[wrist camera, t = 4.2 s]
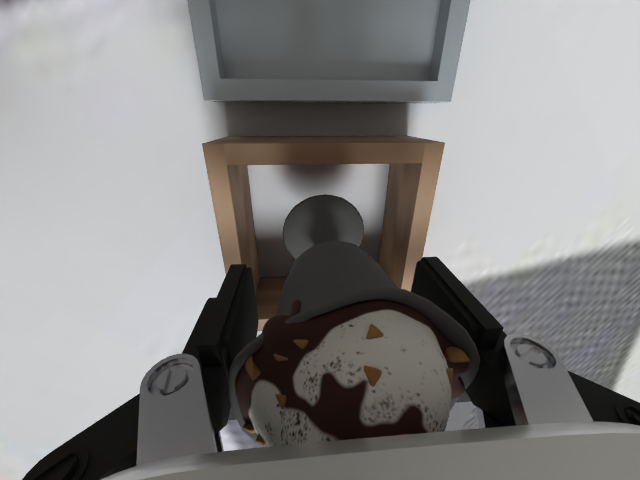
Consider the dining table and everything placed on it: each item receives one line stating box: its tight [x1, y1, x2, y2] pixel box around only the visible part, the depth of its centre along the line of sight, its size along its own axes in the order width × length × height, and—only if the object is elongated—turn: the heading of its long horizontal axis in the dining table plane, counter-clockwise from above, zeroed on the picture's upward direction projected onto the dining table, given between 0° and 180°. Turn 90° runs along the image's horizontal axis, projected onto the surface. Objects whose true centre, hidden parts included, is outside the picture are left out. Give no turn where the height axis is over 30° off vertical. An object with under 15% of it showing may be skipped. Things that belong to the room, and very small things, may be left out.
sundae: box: [228, 195, 480, 447], centre depth 9 cm, size 7×7×15 cm
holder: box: [202, 136, 445, 331], centre depth 18 cm, size 12×12×5 cm
